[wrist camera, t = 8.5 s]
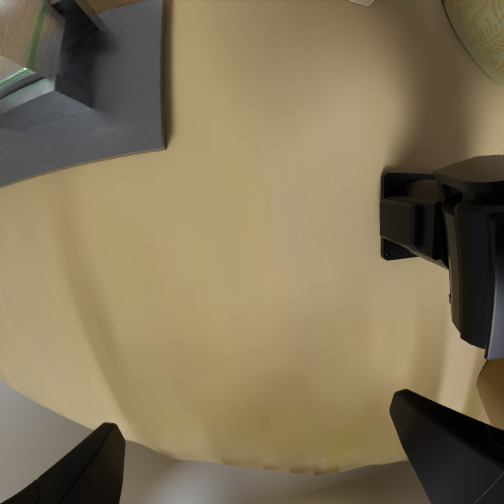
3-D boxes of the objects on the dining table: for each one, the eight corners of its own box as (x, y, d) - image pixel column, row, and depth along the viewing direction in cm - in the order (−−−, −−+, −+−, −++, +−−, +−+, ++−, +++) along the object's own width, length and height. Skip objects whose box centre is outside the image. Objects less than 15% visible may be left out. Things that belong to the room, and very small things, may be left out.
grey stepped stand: (165, 5, 14) (147, -50, 8) (165, 149, 17) (133, 133, 11) (2, 64, 13) (-44, 45, 7) (-5, 189, 16) (-62, 198, 9)
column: (66, 18, 10) (1, -41, 2) (56, 83, 12) (-35, 40, 4) (20, 40, 10) (-50, 1, 2) (10, 103, 11) (-79, 83, 3)
